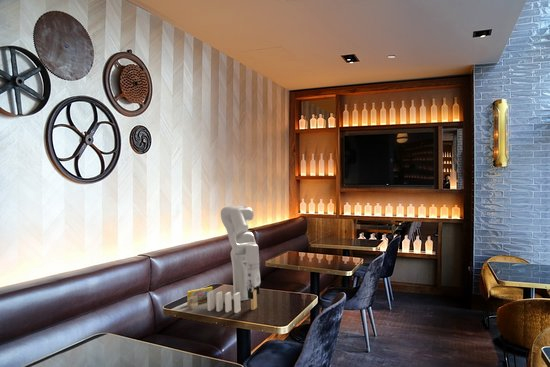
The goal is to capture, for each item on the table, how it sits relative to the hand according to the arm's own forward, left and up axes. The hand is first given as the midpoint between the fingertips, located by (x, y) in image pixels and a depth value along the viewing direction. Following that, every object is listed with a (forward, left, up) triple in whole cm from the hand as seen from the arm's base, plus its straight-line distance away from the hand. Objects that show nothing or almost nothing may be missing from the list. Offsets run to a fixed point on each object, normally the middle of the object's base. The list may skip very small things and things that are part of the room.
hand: (253, 296), depth 223 cm
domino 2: (-8, -18, -7) cm, 21 cm away
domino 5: (0, 0, -7) cm, 7 cm away
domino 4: (0, -10, -7) cm, 12 cm away
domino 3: (-4, -14, -7) cm, 16 cm away
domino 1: (-12, -22, -7) cm, 26 cm away
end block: (-20, -30, -7) cm, 37 cm away
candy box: (-28, -23, -7) cm, 37 cm away
